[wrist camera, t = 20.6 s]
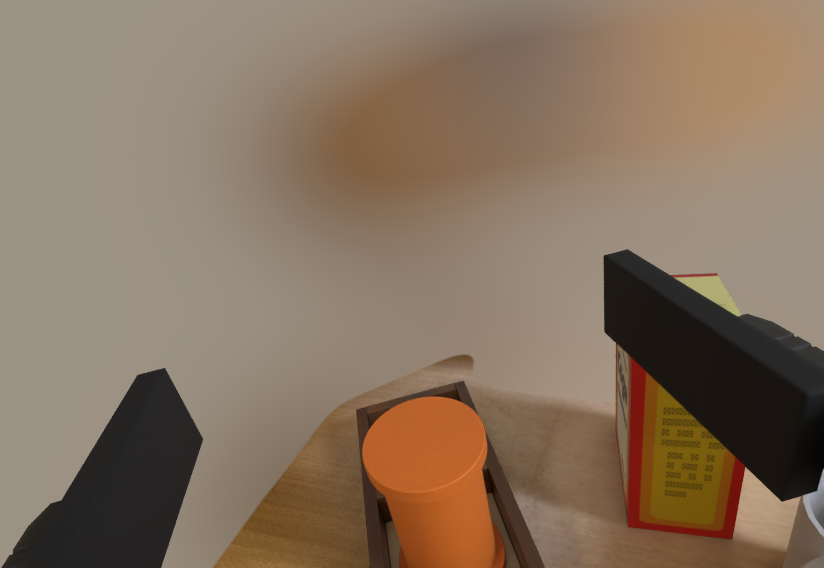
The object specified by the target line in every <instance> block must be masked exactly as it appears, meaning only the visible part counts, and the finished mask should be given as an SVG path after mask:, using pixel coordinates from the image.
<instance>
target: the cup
mask: <svg viewBox="0 0 824 568" xmlns="http://www.w3.org/2000/svg"><path fill="white" fill-rule="evenodd" d="M782 568H824V469H823V472H822V476H821V479H820V483H819V486H818V490H817V491H816V492H813V493H810V494H806V495H803V496H801V498H800V502H799V506H798V510H797V514H796V518H795V521H794V525H793V529H792V533H791V537H790V541H789V544H788V548H787V552H786V556H785V560H784V564H783V567H782Z"/></svg>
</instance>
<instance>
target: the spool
mask: <svg viewBox="0 0 824 568" xmlns="http://www.w3.org/2000/svg"><path fill="white" fill-rule="evenodd" d="M486 456H487V439H486V433H485V428H484V425H483V423H482V421H481V419H480V417H479V416H478V415H477V413H476V412H475V411H474V410H473V409H471V408H470V407H469V406H467V405H466V404H464V403H462V402H460V401H457V400H454V399H450V398H445V397H422V398H416V399H412V400H409V401H406V402H403V403H401V404H399V405H397V406H395V407H393V408H391V409H390V410H388V411H387V412H385V413H384V414H383V415H381V416H380V417H379V418H378V419H377V420H376V421H375V423H374V424H373V425H372V426H371V428H370V429H369V431H368V433H367V435H366V437H365V440H364V443H363V448H362V458H363V463H364V466H365V469H366V472H367V475H368V477H369V479H370V481H371V483H372V484H373V485H374V487H375V488H376V489H377V490H378V491H380V492H381V493H382V494H383V495H385V498H386V501H387V504H388V507H389V510H390V513H391V516H392V519H393V522H394V525H395V529H396V532H397V535H398V538H399V541H400V544H401V547H400V552H399V567H400V568H506V553H505V547H504V542H503V539H502V536H501V534H500V531H499V530H498V528H497V526H496V525H495V524H494V523H493V521H492V520H491V517H490V511H489V506H488V500H487V495H486V489H485V483H484V478H483V472H482V467H483V465H484V463H485V460H486Z"/></svg>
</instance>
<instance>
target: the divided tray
mask: <svg viewBox="0 0 824 568" xmlns="http://www.w3.org/2000/svg"><path fill="white" fill-rule="evenodd" d="M422 397H445V398H450V399H454V400H457V401H460V402H462V403H464V404H466V405H467V406H469V407H470V408H471V409H473V410H474V411H475V412H476V413H477V411H476V408H475V406H474V404H473V402H472V399H471V397H470V395H469V392H468V390H467V388H466V386H465V383H464V381H461V382H457V383H453V384H449V385H446V386H442V387H438V388H434V389H431V390H427V391H423V392H420V393H416V394H412V395H408V396H405V397H401V398H397V399H393V400H390V401H386V402H382V403H379V404H375V405H371V406H367V407H364V408H360V409H357V410H356V412H357V424H358V435H359V446H360V457H361V469H362V480H363V491H364V503H365V514H366V525H367V536H368V548H369V559H370V568H400V567H399V552H400V547H401V544H400V541H399V538H398V535H397V532H396V529H395V525H394V522H393V519H392V516H391V513H390V510H389V507H388V504H387V501H386V498H385V495H383V494H382V493H381V492H380V491H378V490H377V489H376V488H375V487H374V485H373V484H372V483H371V481H370V479H369V477H368V475H367V472H366V469H365V466H364V463H363V458H362V448H363V443H364V440H365V437H366V435H367V433H368V431H369V429H370V428H371V426H372V425H373V424H374V423H375V421H376V420H377V419H378V418H379V417H380V416H381V415H383V414H384V413H385V412H387V411H388V410H390V409H391V408H393V407H395V406H397V405H399V404H401V403H403V402H406V401H409V400H412V399H416V398H422ZM477 415H478V413H477ZM478 416H479V415H478ZM485 433H486V431H485ZM486 439H487V456H486V460H485V463H484V465H483V467H482V472H483V478H484V483H485V489H486V495H487V500H488V506H489V511H490V517H491V520H492V521H493V523H494V524H495V525H496V526H497V528H498V530H499V531H500V534H501V536H502V539H503V542H504V547H505V553H506V568H545V567H544V564H543V562H542V560H541V557H540V555H539V553H538V551H537V548H536V546H535V544H534V541H533V539H532V537H531V535H530V532H529V530H528V528H527V525H526V523H525V521H524V518H523V516H522V514H521V512H520V509H519V507H518V505H517V502H516V500H515V498H514V496H513V493H512V491H511V489H510V486H509V484H508V482H507V480H506V477H505V475H504V473H503V470H502V468H501V466H500V463H499V461H498V459H497V457H496V454H495V452H494V450H493V447H492V445H491V443H490V441H489V438H488V436H487V434H486Z"/></svg>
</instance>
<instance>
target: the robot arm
mask: <svg viewBox="0 0 824 568" xmlns="http://www.w3.org/2000/svg"><path fill="white" fill-rule="evenodd" d="M604 324H605V325H604V330H605V333H606V334H607V335H608V336H609V337H610V338H611V339H612V340H613V341H615V342H616V343H617V344H618V345H619V346H620V347H621V348H622V349H623V350H624V351H625V352H626V353H627V354H628V355H629V356H630V357H631V358H632V359H633V360H634V361H635V362H636V363H637V364H639V365H640V366H641V367H642V368H643V369H644V370H645V371H646V372H647V373H648V374H649V375H650V376H651V377H652V378H653V379H654V380H655V381H656V382H657V383H658V384H659V385H661V386H662V387H663V388H664V389H665V390H666V391H667V392H668V393H669V394H670V395H671V396H672V397H673V398H674V399H675V400H676V401H677V402H678V403H679V404H680V405H681V406H682V407H684V408H685V409H686V410H687V411H688V412H689V413H690V414H691V415H692V416H693V417H694V418H695V419H696V420H697V421H698V422H699V423H700V424H701V425H702V426H703V427H704V428H705V429H707V430H708V431H709V432H710V433H711V434H712V435H713V436H714V437H715V438H716V439H717V440H718V441H719V442H720V443H721V444H722V445H723V446H724V447H725V448H726V449H727V450H728V451H730V452H731V453H732V454H733V455H734V456H735V457H736V458H737V459H738V460H739V461H740V462H741V463H742V464H743V465H744V466H745V467H746V468H747V469H748V470H749V471H750V472H751V473H753V474H754V475H755V476H756V477H757V478H758V479H759V480H760V481H761V482H762V483H763V484H764V485H765V486H766V487H767V488H768V489H769V490H770V491H771V492H772V493H773V494H774V495H776V496H777V497H778V498H779V499H780V500H781V501H782V502H783V501H786V500H789V499H793V498H796V497H799V496H803V495H806V494H810V493H813V492H816V491H817V490H818V486H819V483H820V479H821V476H822V472H823V469H824V351H822V350H821V349H819V348H817V347H812V346H811V344H810V343H808V342H807V341H805V340H803V339H801V338H800V337H795V336H794V334H793V333H791V332H789V331H787V330H786V329H784V328H782V327H781V326H779V325H777V324H775V323H773V322H771V321H768V320H765V319H762V318H759V317H755V316H752V315H749V314H745V315H741V316H736V315H734V314H733V313H731V312H729V311H728V310H726V309H724V308H723V307H721V306H720V305H718V304H716V303H715V302H713V301H711V300H710V299H708V298H706V297H705V296H703V295H701V294H700V293H698V292H697V291H695V290H693V289H692V288H690V287H688V286H687V285H685V284H683V283H682V282H680V281H679V280H677V279H675V278H674V277H672V276H670V275H669V274H667V273H665V272H664V271H662V270H660V269H659V268H657V267H656V266H654V265H652V264H651V263H649V262H647V261H645V260H644V259H642V258H641V257H639V256H638V255H636V254H634V253H633V252H631V251H629V250H623V251H620V252H616V253H612V254H608V255H604ZM202 441H203V438H202V436H201V434H200V432H199V431H198V429H197V427H196V425H195V423H194V421H193V419H192V418H191V416H190V414H189V412H188V410H187V408H186V406H185V405H184V403H183V401H182V399H181V397H180V395H179V393H178V391H177V390H176V388H175V386H174V384H173V382H172V380H171V379H170V377H169V375H168V373H167V371H166V369H165V368H163V369H159V370H155V371H151V372H147V373H143V374H140V375H137V377H136V379H135V380H134V382H133V384H132V385H131V387H130V388H129V390H128V392H127V394H126V395H125V397H124V398H123V400H122V401H121V403H120V405H119V407H118V408H117V410H116V411H115V413H114V415H113V416H112V418H111V420H110V421H109V423H108V425H107V426H106V428H105V429H104V431H103V433H102V434H101V436H100V438H99V439H98V441H97V443H96V444H95V446H94V448H93V449H92V451H91V452H90V454H89V456H88V457H87V459H86V461H85V462H84V464H83V466H82V467H81V469H80V471H79V472H78V474H77V476H76V477H75V479H74V480H73V482H72V484H71V485H70V487H69V489H68V490H67V492H66V494H65V496H64V497H63V499H62V500H61V501H58V502H55V503H52V504H50V505H49V506H48V507H47V508H46V509H45V510H44V511H43V512H42V513H41V514H40V515H39V516H38V517H37V518H36V519H35V520H34V521H33V522H32V523H31V524H30V525H29V526H28V528H27V529H26V531H25V532H24V534H23V535H22V537H21V538H20V540H19V541H18V543H17V545H16V546H15V548H14V549H13V554H12V555H9V557H8V558H7V560H6V562H5V563H4V565H3V566H2V568H161V566H162V563H163V560H164V557H165V554H166V551H167V548H168V545H169V542H170V538H171V536H172V533H173V529H174V527H175V523H176V520H177V517H178V514H179V511H180V508H181V505H182V502H183V499H184V496H185V493H186V490H187V487H188V484H189V481H190V478H191V475H192V471H193V469H194V465H195V462H196V460H197V456H198V453H199V450H200V447H201V444H202Z"/></svg>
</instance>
